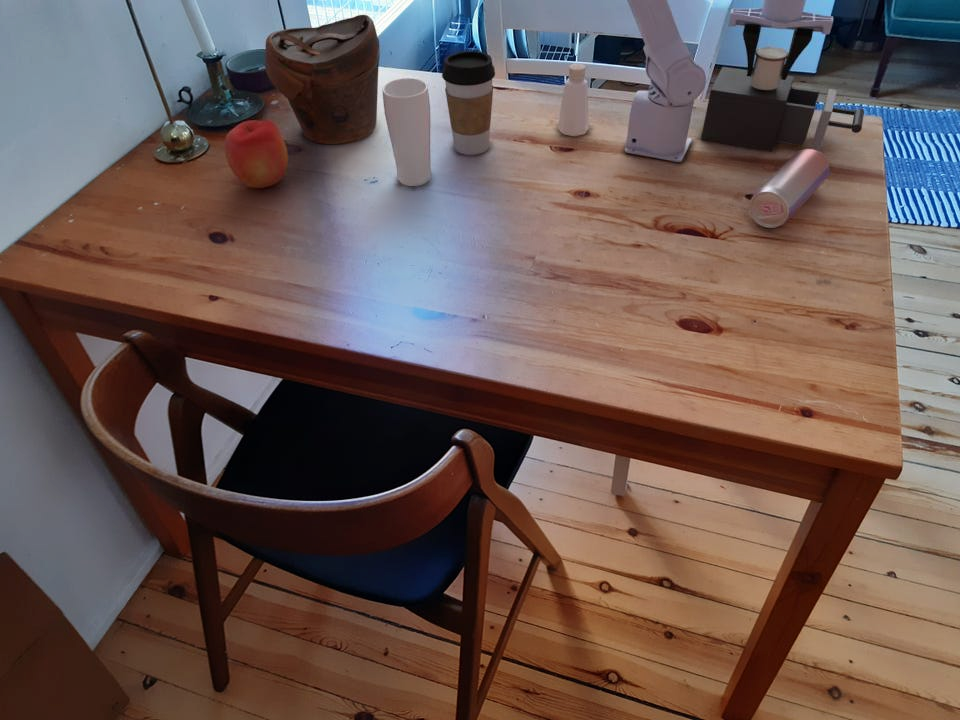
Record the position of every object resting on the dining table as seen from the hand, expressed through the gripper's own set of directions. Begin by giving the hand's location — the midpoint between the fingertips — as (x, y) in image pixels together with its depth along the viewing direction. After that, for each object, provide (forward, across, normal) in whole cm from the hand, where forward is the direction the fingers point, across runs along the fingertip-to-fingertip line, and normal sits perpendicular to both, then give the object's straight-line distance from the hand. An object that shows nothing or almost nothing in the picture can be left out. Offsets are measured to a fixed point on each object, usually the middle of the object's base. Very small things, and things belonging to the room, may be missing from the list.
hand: (766, 75), depth 113 cm
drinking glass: (+10, -50, -29) cm, 58 cm away
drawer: (+10, +8, 0) cm, 13 cm away
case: (+10, -70, -17) cm, 72 cm away
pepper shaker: (+10, -29, -5) cm, 32 cm away
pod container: (+1, 0, 0) cm, 1 cm away
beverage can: (+8, +9, -13) cm, 17 cm away
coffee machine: (+10, -2, +1) cm, 11 cm away
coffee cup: (+10, -44, -16) cm, 48 cm away
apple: (+10, -72, -36) cm, 82 cm away
